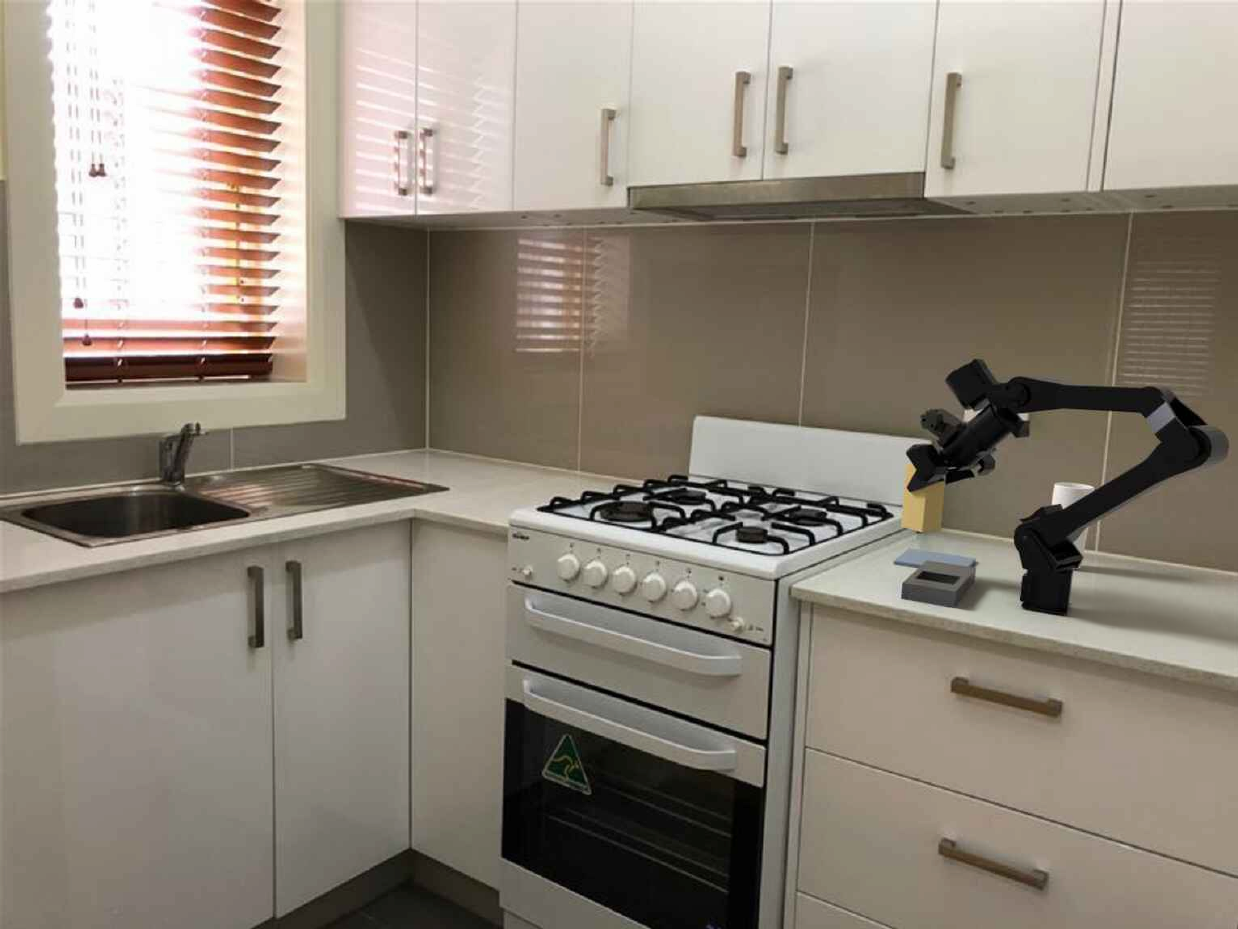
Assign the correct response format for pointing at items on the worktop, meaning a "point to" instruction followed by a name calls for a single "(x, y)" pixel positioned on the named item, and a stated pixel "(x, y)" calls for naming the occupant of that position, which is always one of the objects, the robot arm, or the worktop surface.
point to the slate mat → (930, 558)
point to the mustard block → (922, 505)
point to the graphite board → (938, 583)
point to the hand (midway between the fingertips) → (917, 488)
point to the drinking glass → (1068, 496)
